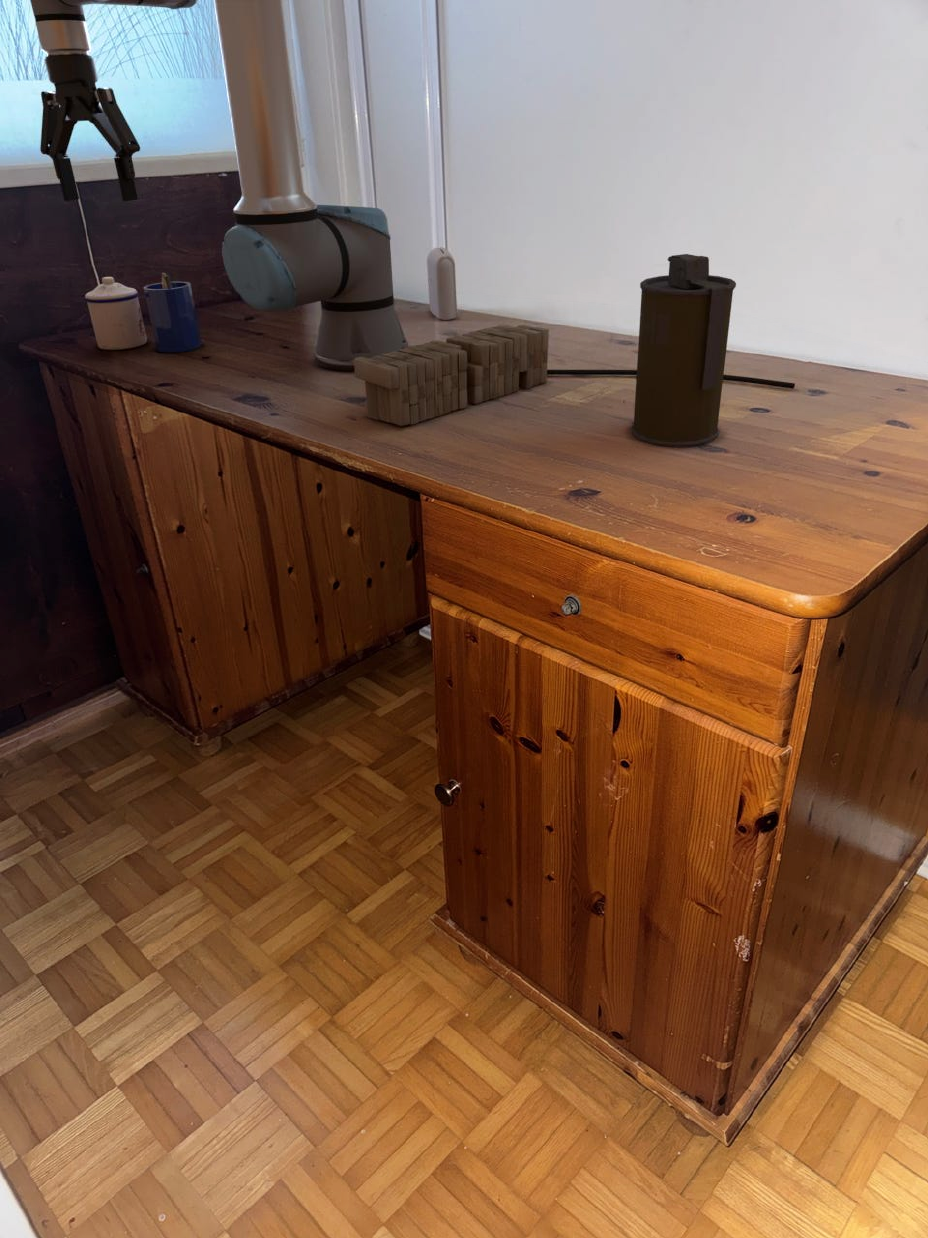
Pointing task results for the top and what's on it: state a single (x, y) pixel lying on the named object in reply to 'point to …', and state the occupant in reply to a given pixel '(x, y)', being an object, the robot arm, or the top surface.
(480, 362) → the block tower
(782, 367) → the top surface
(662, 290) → the canister
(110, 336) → the teacup with lid
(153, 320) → the pen pot
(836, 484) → the top surface
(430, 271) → the photo printer
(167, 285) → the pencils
